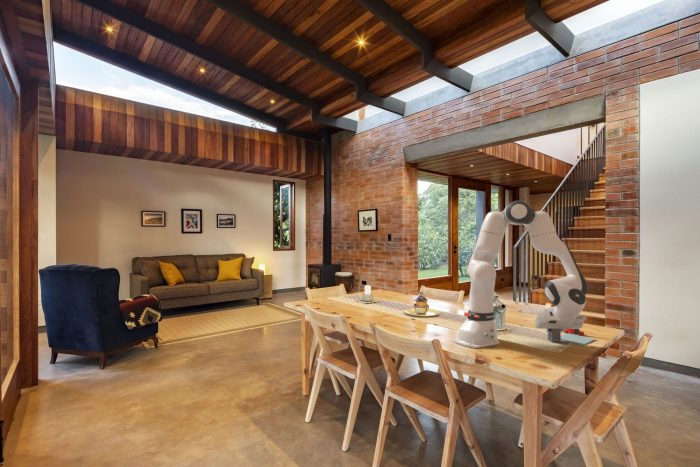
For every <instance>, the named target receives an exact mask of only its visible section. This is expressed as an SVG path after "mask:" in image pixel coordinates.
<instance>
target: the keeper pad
mask: <svg viewBox="0 0 700 467" xmlns="http://www.w3.org/2000/svg"><path fill="white" fill-rule="evenodd" d="M561 341H562V342H567V343H571V344H576V345H581V346H586V345H587V344H590V343H592V342H594V341H596V338H593V337H588V336H582V335H580V334H573V333H569V332H567V333H565V334H563V335H561Z"/></svg>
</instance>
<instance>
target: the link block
mask: <svg viewBox="0 0 700 467" xmlns="http://www.w3.org/2000/svg"><path fill="white" fill-rule="evenodd" d="M549 329H550V331H549V332H547V340H548V341H549V342H551V343H561V341H562V340H561V336H562V335H561V333H562V332H561V329H551V328H549Z"/></svg>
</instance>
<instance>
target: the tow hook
mask: <svg viewBox="0 0 700 467" xmlns="http://www.w3.org/2000/svg"><path fill="white" fill-rule="evenodd" d="M580 329H581V328H580ZM580 329H566V330H564V331H563V332H567V333H570V334H574V335H584V334H585V331H582V330H580Z"/></svg>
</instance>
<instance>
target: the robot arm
mask: <svg viewBox="0 0 700 467" xmlns="http://www.w3.org/2000/svg"><path fill="white" fill-rule="evenodd" d="M518 225H519V226H520V225H523V226H524V228H526V230H527V232H528V236H529V239H530V243H531V246H532V247H533V249H534V250H536V251H538V253H541V254H545V255H551V256H553V257H556V258H558V259H559V260H560V262H561V264H562V267H563V268H564V271H565V274H566V276H565V277H559V278H555V279H550V280H547V281H546V282H545V283H544V286H543V294H544V296H545V297H546V299H547V300H548V301H549V302H550V303H552V305H554V306H551V307H547V308H543V309H541V313H539V314H538V315H537V316H536V318H535V319H534V325H535V328H537V329H544V331H545V332H547V333H548V332H549V331H550V329H549V328H551V329H561V333H563V332H565V331H564V330H566V329H582V328H583V326H584V324H585V321H586V320H587V315H584V314H581V312H582V311H583V309H584V308H585V306H586V303H587V296H586V294H588V293H587V292H588V290H589V283H588V281H587V280H586V278H585V277H584V275H583V273H582V272H581V270H580V268H579V266H578V264H577V263H578V262H577V261H576V260H575V257H574V255H573V253H572V250H571V249H570V247H569V246H568V244H566V243H565V242H563V241H562V240H561V239H560V237H559V236H558V234H557V230H556V226H555V225H554V223H553V220H552V219H551V216H550V214H549V213H548V212H546V211H543V210H538V211H535V209H533V207H531V206H530V205H529V204H528V203H527V202H525V201H523V200H514V201H512V202H510V203H509V204H508V205H507V206H506V207H505V208H504V209H503V210H502V211H496V210H495V211H489V212H488V213H486V214H485V218H484V220H483V222H482V224H481V226H480V231H479V234H478V236H477V241H476V244H475V247H474V250H473V252H472V255H471V257H470V260H469V263H468V266H467V273H468V276H469V277H470V289H469V297H468V298H469V308H468V309H469V310H468V311H467V312H466V311H464V312H463V316H464V317H466V319H465V320H464V321H463V323H462V324H461V326H459V327H458V330H457V336H455V337H454V338H452V342H453V343H455V344H458V345H461V346H464V347H467V348H473V349H479V348H485V347H486V348H487V347H489V346H490V347H491V346H496V345H500V344H501V343H500V341H499V340H498V331H497V325H496V323H495V317H496V316H495V315H496V314H495V311H494V295H495V294H494V292H495V285H496V278H497V272H496V268H495V267H494V263H495V261H496V258H497V257H498V255H499V253H500V252H501V247H502V245H503V244H502V243H503V240H504V236H505V233H506V229H507V228H508V226H518Z"/></svg>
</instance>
